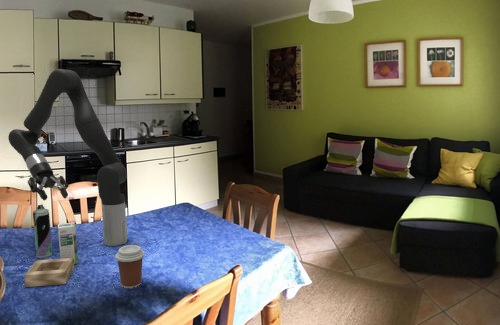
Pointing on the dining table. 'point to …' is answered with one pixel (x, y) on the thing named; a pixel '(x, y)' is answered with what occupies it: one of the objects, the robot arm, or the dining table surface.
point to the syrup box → (68, 241)
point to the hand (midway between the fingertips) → (56, 198)
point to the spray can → (42, 232)
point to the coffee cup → (130, 265)
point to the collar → (49, 272)
